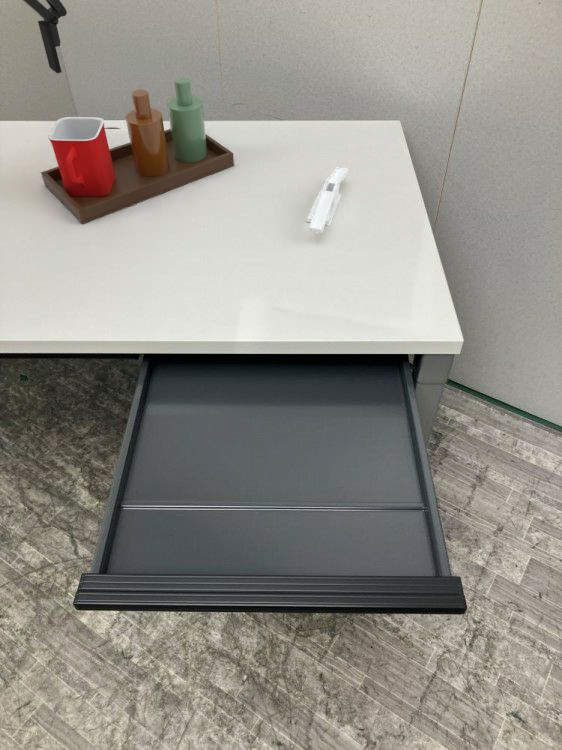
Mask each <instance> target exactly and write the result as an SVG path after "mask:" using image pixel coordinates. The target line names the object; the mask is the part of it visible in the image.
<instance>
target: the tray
mask: <svg viewBox="0 0 562 750" xmlns="http://www.w3.org/2000/svg"><path fill="white" fill-rule="evenodd" d="M164 131H165V138H166V145H167V152H168V159H169V165H170V168H169V170H168V171H167V172H166V173H165V174H163V175H160V176H155V177H146V176H142V175H139V174H138V173H137V172H136V170H135V164H134V159H133V154H132V149H131V144H130V142H127V143H124V144H121V145H118V146H115V147H112V148H109V150H110V155H111V159H112V163H113V168H114V172H115V181H114V183H113V186H112V188H111V191H110V193H109V194H108V195H106V196H102V197H74V196H69V195H68V194H67V193H66V189H65V186H64V183H63V180H62V176H61V173H60V170H59V166H58V165H57V166H56V167H53V168H49V169H46V170H43V171H40V175H41V177H42V180H43V181H42V182H43V184H44V186H45V187H46V188H47V189H48V190H49V191H50V193H52V195H53V196H54V197H56V199H58V201H59V202H60V203H62V204H63V206H64V207H65V208H66V209H67V210H68V211H69V212H70V213H71V214H72V215H73V216H74V217H75V218H76V219H77V220H78V221H79V222H80V224H82V225H85V224H87V223H89V222H92V221H95V220H97V219H101V218H102V217H105V216H107V215H110V214H113V213H116V212H118V211H121V210H123V209H126V208H128V207H131V206H133V205H135V204H140V203H141V202H144V201H147V200H149V199H152V198H154V197H157V196H160V195H162V194H164V193H167V192H170V191H172V190H175V189H177V188H180V187H183V186H185V185H188V184H190V183H192V182H196V181H198V180H201V179H203V178H206V177H208V176H211V175H214V174H216V173H219V172H222V171H224V170H227V169H229V168H232V167H234V166H235V163H234V162H235V159H234V158H235V157H234V152H232V151H231V150H230V149H228V148H226V147H225V146H224V145H222V144H221V143H220V142H218V140H217V141H216V140H215V139H214V138H212V137H211V136H209V135H208V134H207V133H205V135H206V146H207V156H206V157H205V158H204V159H202V160H200V161H197V162H182V161H179V160H177V159H176V158H175V156H174V150H173V143H172V135H171V128H169V129H164Z"/></svg>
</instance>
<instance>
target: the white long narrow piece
mask: <svg viewBox="0 0 562 750" xmlns="http://www.w3.org/2000/svg"><path fill="white" fill-rule="evenodd" d="M349 171H350V170H349V168H347V167H341V166H336V167H335V169H334V170H333V171H332V172H331V173H330V175H328V177H327V178H326V180H325V181H324V182H323V185H322V188H321V190H319V192H318V193H317V196H316V198H315V200H314V202H313V204H312V206H311V209H310V211H309V213H308V215H307V217H306V221H305V222H306V223H310V224H309V226H308V232H311V233H317V234H323V232H324V229H325V226H326V227H329V226H330V225H331V223H332V220H333V218H334V216H335V213H336V211H337V209H338V206H339V204H340V202H341V200H342V193H339V192H340V185H341V184H342V182H343V181H344V179H345V178H346V177H347V176H348V174H349Z"/></svg>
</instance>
